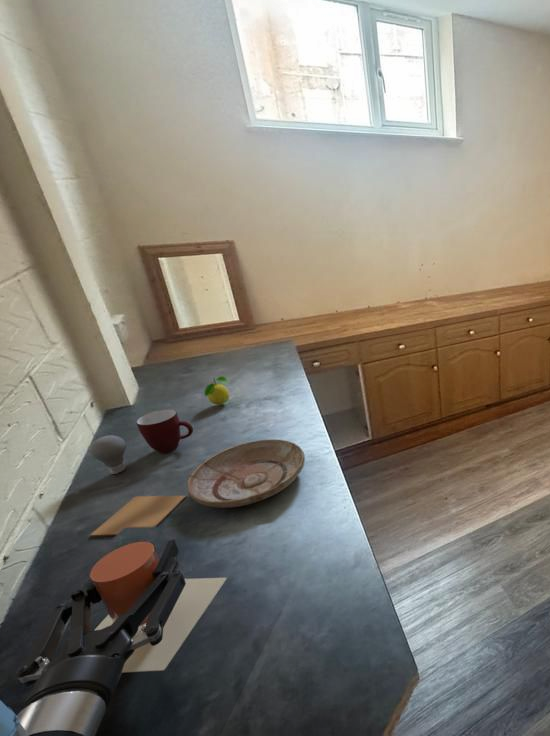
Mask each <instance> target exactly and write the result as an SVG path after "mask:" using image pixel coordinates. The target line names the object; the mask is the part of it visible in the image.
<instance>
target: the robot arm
mask: <svg viewBox="0 0 550 736" xmlns="http://www.w3.org/2000/svg"><path fill="white" fill-rule="evenodd" d="M179 553H180V552H179V548H178V545H177V543H176V540H175V539H169V540H168V541H167V544H166V545H165V547H164V550H163V552H162V554H161V557H160V559H159V563H158V565H157V567H156V569H155V572H154V575H155V577H156V579H155V580H154V581H153V582H152V583H151V585H150V586H149V587H148V588H147V589H146V590H145V591H144V592H143V594H142V595H141V596H140V597H139V598H138V599H137V600H136V602H135V603H134V604H133V605H132V606H131V607H130V608H129V610H128V611H127V612H126V613H125V614H124V615H120V616H119V617H118V618H117V619H116V620H115V621H114V623H113V624H112V625H111V626H108V627H106V628H103V629H101V630H95V629H94V630H91V628H92V626H91V625H92V622H91V621H92V619H91V618H92V605H94V604H95V605H96V604H98V603H100V602H102V600H101V598H100V596H99V594H98V592H97V590H96V588H95V586H94V584H93V582H92V580H91V578H89V579H87V581H86V582H85V584H84V585H83V587H82V589H78V590H75V591H74V592H72V593H71V595H70V598H71V599H72V600H70V601H68V602H65V601H61V602H59V603H57V604H55V605H54V606H53V607H52V609H51V611H50V613H49V615H48V617H47V619H46V621H45V623H44V625H43V627H42V629H41V631H40V632H39V635H38V637H37V639H36V641H35V643H34V645H33V647H32V648H31V651H30V653H29V655H28V656H27V657H26V658H25V659H24V660H23V661H22V663H21V664H20V665H19V666H18V667H17V668H16V669H15V671H14V674H15V676H16V677H17V679H18V680H19V682H20V683H21V685H22V686H23V687H25V688H26V687H29V686H31V685H34V686H33V688H31V690H30V692H29V694H28V696H27V698H26V699H25V700H24V703H23V704H22V706H21V708H20V709H19V713H18V714H16V713H15V712H14V711H13V709H12V708H11V707H9V706H7V705H6V704H5V703H4V702H3V701H2V700H1V699H0V736H96V734H97V732H98V730H99V728H100V725H101V723H102V721H103V718H104V716H105V713H106V709H107V707H108V706H109V704H110V702H111V701H112V699H113V696H114V693H115V691H116V688H117V686H118V685H119V681H120V680H121V677H122V674H123V672H122V670H123V667H124V664H125V662H126V661H127V659H128V658H129V657H130V656H131V655H132V654H133V652H134V650H135V649H137V648H139V647H141V646H143V645H145V644H148V643H150V644H151V645H152V646H154V645H157V644H159V643H160V642H161V640H162V637H163V628H164V626H165V624H166V622H167V620H168V618H169V616H170V614H171V612H172V610H173V608H174V606H175V604H176V602H177V600H178V598H179V596H180V594H181V592H182V591H183V589H184V587H185V585H186V582H185V579H186V578H185V576H184V574H183V572H182V571H181V570H178V568H179V565H180V564H179V561H178V558H177V557H178V555H179ZM91 603H92V605H91ZM150 612H151V613H150ZM149 613H150V615H149V617H148V619H147V622H146V624H145V625H143V626H142V627H141V629H142V630H141V631H140V633H139V634H138V636H136V637H135V638H133V637H134V635H135V634H136V633H137V631H138V628H139V625H140V624H141V623H142V622H143V621H144V619H145V618H146V617H147V616H148V614H149ZM69 623H70V631H69V632H68V640H67V642H68V643H67V646H66V648H64V649H63V650H62V651H61V652H60V653H59V654H58V655H56V656H55V654H56V652H57V650H58V647H59V646H60V643H61V641H62V639H63V637H64V634H65V632H66V630H67V627H68V626H69ZM132 638H133V639H132ZM34 683H35V684H34Z"/></svg>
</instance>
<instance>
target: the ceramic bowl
mask: <svg viewBox="0 0 550 736" xmlns="http://www.w3.org/2000/svg"><path fill="white" fill-rule="evenodd" d="M305 458H306V457H305V453H304V451H303V449H302V447H301V446H300V445H299V444H296V443H294V442H292V441H289V440H285V439H275V438H274V439H273V438H272V439H259V440H254V441H250V442H244V443H239V444H236V445H234V446H232V447H228V448H226V449H224V450H221V451H220V452H217V453H216V454H214V455H212V456H210V457H208V458H207V459H206V460H205V461H204V462H202V463H201V464H199V465H198V467H196V468H195V470H194V471H193V472H192V473H191V475H190V476H189V478H188V480H187V485H186V487H187V492H188V495H189V496H190V497H191V499H193V500H194V501H195V502H196V503H198V504H201V505H202V506H205V507H210V508H221V509H228V508H238V507H243V506H248V505H252V504H254V503H257V502H260V501H263V500H265V499H268V498H271V497H273V496H275V495H276V494H278V493H280V492H281V491H283V490H285V489H286V488H287V487H289V486H290V485H291V484H292V483H293V482H294V480H296V478H297V477H298V476H299V475H300V473H301V472H302V470H303V469H304V465H305Z"/></svg>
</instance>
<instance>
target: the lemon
mask: <svg viewBox="0 0 550 736" xmlns="http://www.w3.org/2000/svg"><path fill="white" fill-rule="evenodd" d="M212 379H213V383H209V384H208V385H206V387H205V389H204V397H207V399H208V400H209V402H210V403H211V404H214V405H219V406H222V405H223V404H225V403H226V402H228V400H229V398H230V392H229V390H228V388H227V387H226V386H225V385H224V384H221V383H227V382H228V379H227V378H226V377H225V376H219V377H217V378H215V377H212ZM216 381H218V382H220V383H216Z"/></svg>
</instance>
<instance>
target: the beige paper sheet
mask: <svg viewBox="0 0 550 736" xmlns="http://www.w3.org/2000/svg"><path fill="white" fill-rule="evenodd" d="M184 579H185V582H186V585H185V587H184V589H183V591H182V592H181V594H180V596H179V598H178V600H177V602H176V604H175V606H174V608H173V610H172V612H171V614H170V616H169V618H168V620H167V622H166V624H165V626H164V628H163V637H162V640H161V642H160V643H159V644H157V645H154V646H152V645H151V644H150V643H148V644H145V645H143V646H141V647H139V648H137V649H135V650H134V652H133V654H132V655H131V656H130V657H129V658H128V659H127V661H126V662H125V664H124V667H123V670H122V673H139V672H140V673H142V672H161V671H162V672H163V671H165V670H166V668H167V667H168V666H169V664H170V662H171V661H172V660H173V658H174V657H175V655H176V654H177V652H179V650H180V648H181V646H182V645H183V644H184V642H185V641H186V639H187V638H188V637H189V635H190V633H191V632H192V630H193V629H194V627H195V626H196V625H197V623H198V622H199V620H200V619H201V618H202V616H203V614H204V613H205V611H206V610H207V609H208V607H209V605H210V604H211V603H212V601H213V600H214V598H215V597H216V595H217V594H218V592H219V591H220V589H221V588H222V586H223V585H224V584H225V582H226V581H227V579H228V577H203V578H202V577H201V578H184ZM112 624H113V622H112V620H111V618H110V616H109V614H108V613H107V616H105V618H104V619H102V621H101V622H100V623H99V624H98V625H97V626H96V628H95V629H94V630H101V629H103V628H106V627H108V626H111V625H112ZM145 624H146V623H145ZM145 624H143V625H145ZM143 625H141V626H139V628H138V631H137V633H136V634H135V635H134V637H133V638H135V637H136V636H138V634H139V633H140V631H141V630H142V629H141V627H142V626H143ZM133 638H132V639H133Z"/></svg>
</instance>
